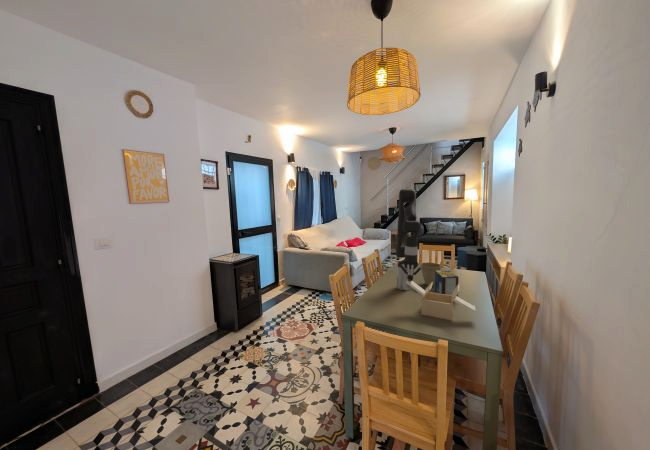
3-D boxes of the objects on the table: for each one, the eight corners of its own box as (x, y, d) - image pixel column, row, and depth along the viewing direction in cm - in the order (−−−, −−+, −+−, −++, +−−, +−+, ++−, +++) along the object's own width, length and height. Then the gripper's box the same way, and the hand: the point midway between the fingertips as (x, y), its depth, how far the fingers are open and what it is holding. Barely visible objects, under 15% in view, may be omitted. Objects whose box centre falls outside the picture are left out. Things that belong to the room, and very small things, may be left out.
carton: (421, 315, 148) (421, 299, 147) (424, 305, 160) (424, 291, 159) (451, 320, 140) (452, 304, 139) (452, 310, 152) (453, 295, 151)
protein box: (449, 290, 185) (449, 270, 183) (458, 299, 169) (458, 277, 168) (434, 290, 186) (434, 270, 184) (441, 299, 170) (442, 276, 169)
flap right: (458, 291, 137) (482, 304, 133) (458, 283, 149) (480, 295, 144) (451, 302, 140) (474, 315, 135) (451, 293, 151) (473, 305, 147)
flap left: (422, 298, 147) (404, 284, 151) (425, 291, 159) (408, 278, 163) (430, 289, 144) (411, 275, 148) (433, 282, 156) (415, 269, 160)
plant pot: (434, 280, 207) (435, 262, 205) (444, 287, 192) (444, 267, 190) (416, 281, 206) (417, 262, 204) (425, 288, 191) (425, 267, 189)
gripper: (398, 253, 154) (398, 281, 155) (421, 255, 147) (421, 284, 149) (401, 251, 160) (400, 277, 162) (423, 253, 154) (422, 280, 156)
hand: (410, 280), depth 156 cm, fingers closed
